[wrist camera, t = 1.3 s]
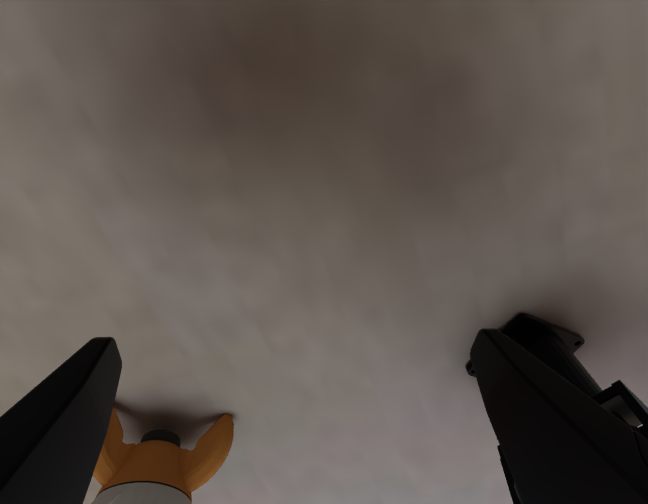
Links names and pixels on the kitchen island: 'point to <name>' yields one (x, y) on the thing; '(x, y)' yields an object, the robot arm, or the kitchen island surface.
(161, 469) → the toy rocket
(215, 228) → the kitchen island surface
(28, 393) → the robot arm
